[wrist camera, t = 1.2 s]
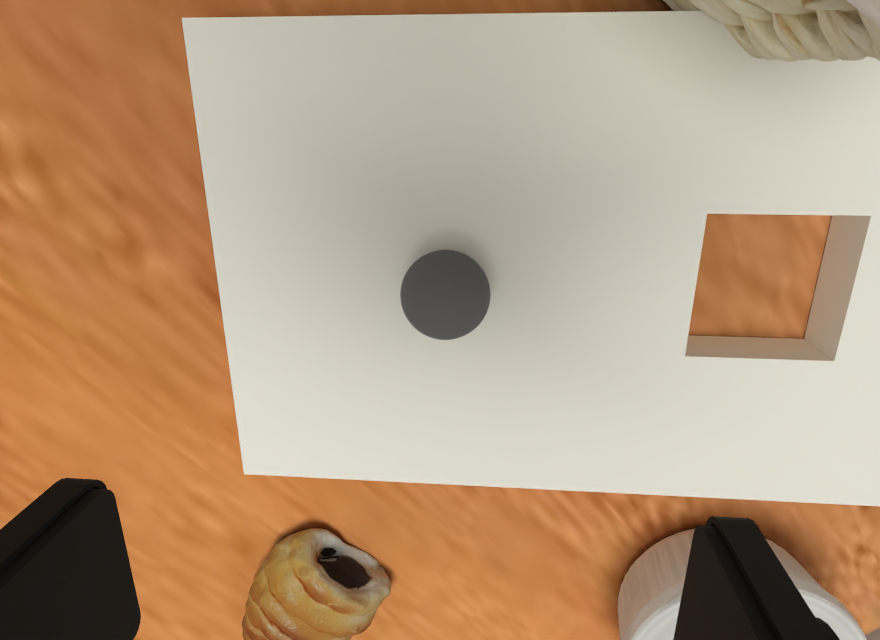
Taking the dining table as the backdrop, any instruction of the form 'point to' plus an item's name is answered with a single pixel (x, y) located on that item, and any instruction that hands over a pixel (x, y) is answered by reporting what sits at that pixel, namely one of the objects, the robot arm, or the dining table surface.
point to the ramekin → (661, 584)
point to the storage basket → (797, 27)
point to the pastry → (314, 590)
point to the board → (536, 250)
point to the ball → (445, 294)
